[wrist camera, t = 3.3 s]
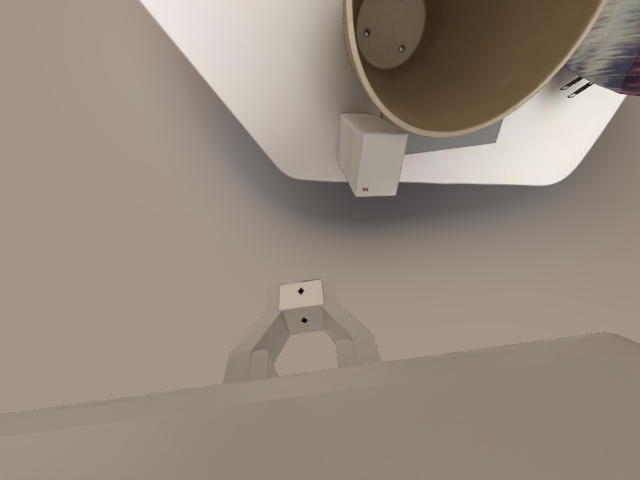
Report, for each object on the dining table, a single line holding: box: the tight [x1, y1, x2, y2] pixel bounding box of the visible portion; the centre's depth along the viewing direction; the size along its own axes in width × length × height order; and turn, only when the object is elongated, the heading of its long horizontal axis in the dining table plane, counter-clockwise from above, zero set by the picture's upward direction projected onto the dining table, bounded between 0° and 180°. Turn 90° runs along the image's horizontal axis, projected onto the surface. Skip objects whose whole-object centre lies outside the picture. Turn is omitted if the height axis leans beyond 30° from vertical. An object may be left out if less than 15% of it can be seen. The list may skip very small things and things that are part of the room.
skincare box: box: [338, 113, 408, 197], centre depth 27 cm, size 6×4×12 cm
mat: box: [382, 113, 503, 155], centre depth 32 cm, size 16×6×1 cm, turn 96°
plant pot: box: [343, 0, 607, 138], centre depth 19 cm, size 15×15×16 cm
